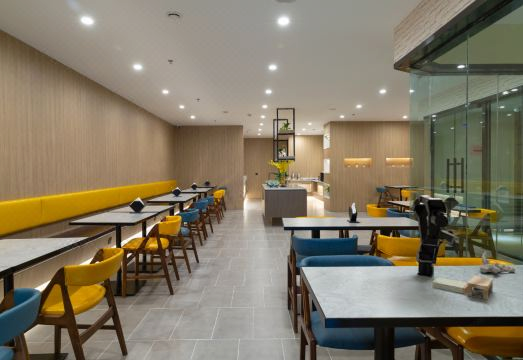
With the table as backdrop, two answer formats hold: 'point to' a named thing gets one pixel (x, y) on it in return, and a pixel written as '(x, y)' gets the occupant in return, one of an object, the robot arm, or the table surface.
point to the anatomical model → (492, 266)
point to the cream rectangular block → (451, 285)
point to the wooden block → (480, 286)
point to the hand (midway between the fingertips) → (434, 257)
